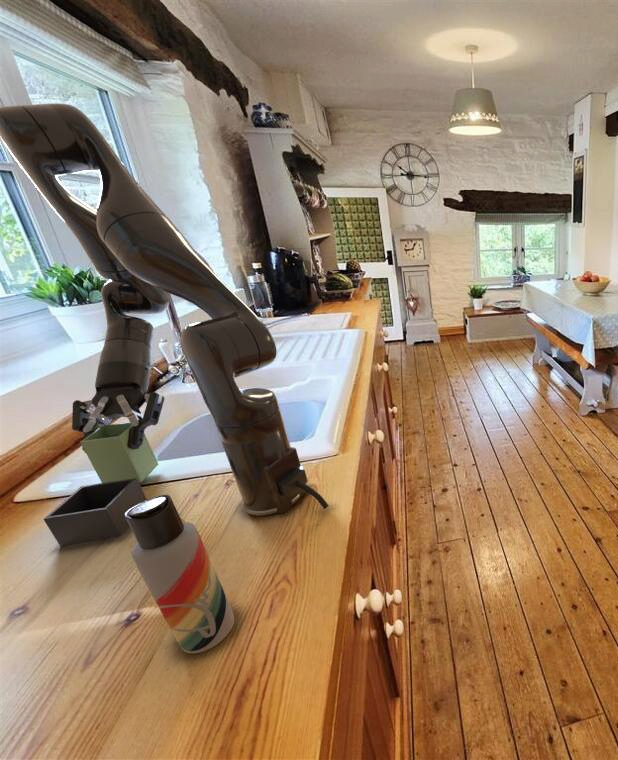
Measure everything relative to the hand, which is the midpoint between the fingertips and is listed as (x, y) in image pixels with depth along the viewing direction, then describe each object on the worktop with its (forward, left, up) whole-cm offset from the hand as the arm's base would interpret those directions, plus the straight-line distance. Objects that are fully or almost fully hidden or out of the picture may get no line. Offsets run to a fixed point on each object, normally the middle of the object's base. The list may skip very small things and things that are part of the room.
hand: (112, 450), depth 75 cm
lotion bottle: (-41, +19, -9) cm, 46 cm away
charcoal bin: (-7, +8, -8) cm, 14 cm away
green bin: (+1, -2, -7) cm, 7 cm away
